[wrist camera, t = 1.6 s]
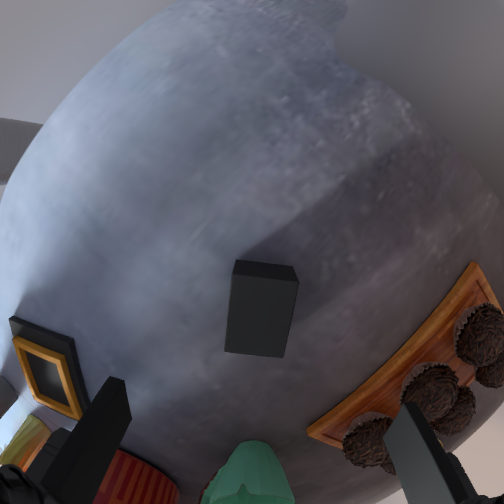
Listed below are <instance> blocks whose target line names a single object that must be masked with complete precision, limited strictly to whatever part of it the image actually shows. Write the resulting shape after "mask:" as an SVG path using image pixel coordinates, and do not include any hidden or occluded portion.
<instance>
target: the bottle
mask: <svg viewBox="0 0 504 504" xmlns="http://www.w3.org/2000/svg"><path fill="white" fill-rule="evenodd" d="M17 399H18V396H17V394H16V392H15V390H14V388H13V387H12V385H11V384H10V383H9V382H8V381H7V380H6V379H5V378H4V377H2V376H0V419H1V418H2V416H3V415H4V414H5V413H6V412H7V411H8V410H9V408H10V407H11V406H12V405H13V404H14V403H15V401H16V400H17Z"/></svg>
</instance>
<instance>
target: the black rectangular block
mask: <svg viewBox="0 0 504 504" xmlns="http://www.w3.org/2000/svg"><path fill="white" fill-rule="evenodd" d="M298 285H299V281H298V279H297V276H296V274H295V271H294V269H293V267H292V266H286V265H278V264H270V263H261V262H254V261H246V260H238V259H237V260H236V261H235V265H234V269H233V273H232V279H231V288H230V298H229V307H228V317H227V327H226V337H225V347H224V352H230V353H238V354H247V355H256V356H266V357H277V358H283V357H284V352H285V348H286V343H287V339H288V334H289V330H290V325H291V320H292V315H293V310H294V305H295V300H296V295H297V290H298Z"/></svg>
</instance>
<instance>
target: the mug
mask: <svg viewBox="0 0 504 504" xmlns="http://www.w3.org/2000/svg"><path fill="white" fill-rule="evenodd" d="M198 504H295V498H294V496H293V493H292V491H291V488H290V486H289V483H288V480H287V477H286V474H285V472H284V470H283V468H282V466H281V464H280V462H279V460H278V458H277V457H276V455H275V453H274V452H273V450H272V448H271V447H270V445H268V444H267V443H265V442H262V441H245V442H242V443H240V444H239V445H237V447H236V449H235V450H234V452H233V453H232V455H231V456H230V458H229V459H228V461H227V463H226V464H225V465H224V466H223V467H222V468H221V469H219V470H218V471H217V472H216V473H215V474H214V475H213V477H212V478H211V479H210V481H209V482H208V483H207V485H206V486H205V487H204V489H203V490H202V491H201V495H200V499H199V503H198Z"/></svg>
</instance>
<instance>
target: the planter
mask: <svg viewBox="0 0 504 504" xmlns="http://www.w3.org/2000/svg"><path fill="white" fill-rule="evenodd" d="M179 498H180V492H179V489H178V488H177V486H176V485H175V484H174V483H173V482H172V480H171V479H170V478H168V477H167V476H166V475H165V474H164V473H162V472H161V471H159V470H158V469H156V468H155V467H153V466H152V465H150V464H148V463H147V462H145V461H143V460H141V459H140V458H138V457H136V456H134V455H132V454H130V453H128V452H125V451H123V450H121V449H117V451H116V453H115V455H114V457H113V459H112V461H111V464H110V466H109V468H108V470H107V472H106V474H105V477H104V479H103V481H102V483H101V485H100V488H99V490H98V492H97V494H96V496H95V499H94V501H93V503H92V504H178V503H179Z"/></svg>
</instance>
